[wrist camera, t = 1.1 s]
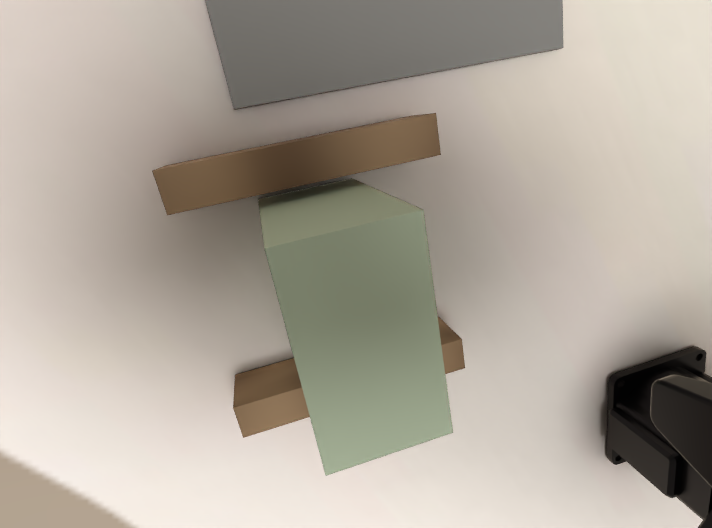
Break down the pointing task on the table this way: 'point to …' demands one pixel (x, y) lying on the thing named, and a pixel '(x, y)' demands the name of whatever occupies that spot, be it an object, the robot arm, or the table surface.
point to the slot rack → (282, 171)
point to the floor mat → (368, 41)
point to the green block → (359, 318)
